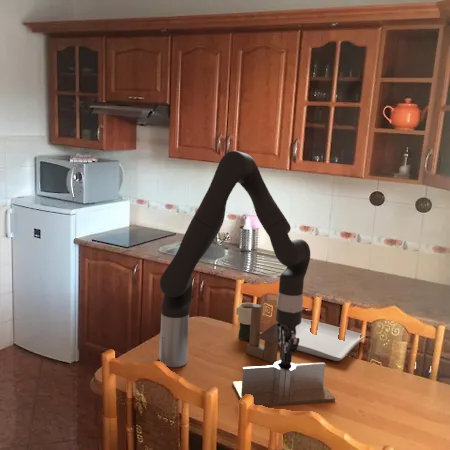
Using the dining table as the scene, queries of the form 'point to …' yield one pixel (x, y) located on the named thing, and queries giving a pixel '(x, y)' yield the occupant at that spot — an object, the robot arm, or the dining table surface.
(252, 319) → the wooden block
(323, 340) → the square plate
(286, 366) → the hinge pin
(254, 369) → the hinge stand
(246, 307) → the character mug
